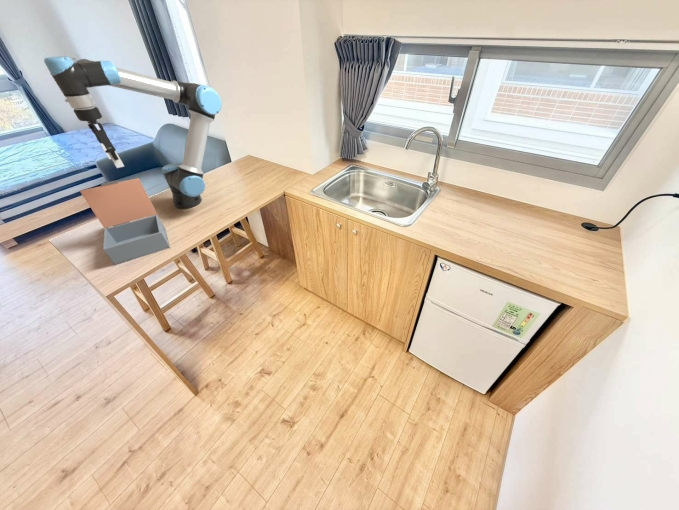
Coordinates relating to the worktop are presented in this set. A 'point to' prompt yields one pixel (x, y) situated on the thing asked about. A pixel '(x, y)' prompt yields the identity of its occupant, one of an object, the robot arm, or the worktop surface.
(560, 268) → the worktop surface
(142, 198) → the lid
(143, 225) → the box
